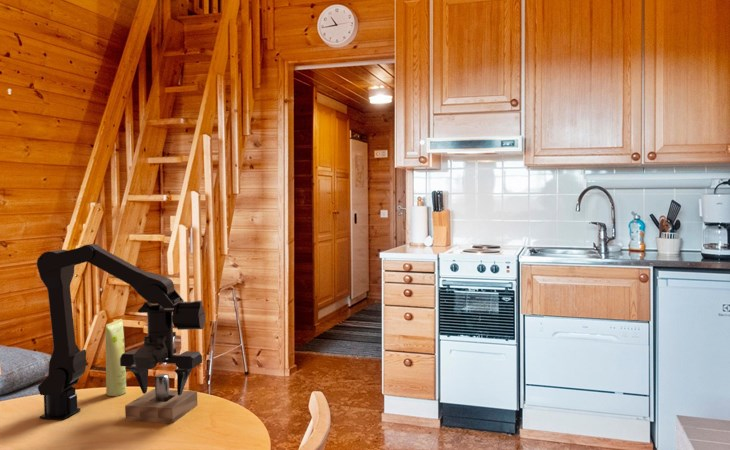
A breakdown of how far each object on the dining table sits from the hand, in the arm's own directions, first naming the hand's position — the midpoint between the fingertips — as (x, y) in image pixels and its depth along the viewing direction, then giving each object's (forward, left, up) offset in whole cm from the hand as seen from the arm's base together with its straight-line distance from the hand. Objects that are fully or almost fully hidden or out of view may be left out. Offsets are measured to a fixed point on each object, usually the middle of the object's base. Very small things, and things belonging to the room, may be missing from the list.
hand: (162, 394), depth 139 cm
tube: (-20, +11, -5) cm, 23 cm away
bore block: (0, 0, -4) cm, 4 cm away
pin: (0, 0, -4) cm, 4 cm away
